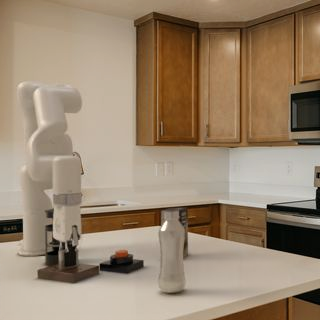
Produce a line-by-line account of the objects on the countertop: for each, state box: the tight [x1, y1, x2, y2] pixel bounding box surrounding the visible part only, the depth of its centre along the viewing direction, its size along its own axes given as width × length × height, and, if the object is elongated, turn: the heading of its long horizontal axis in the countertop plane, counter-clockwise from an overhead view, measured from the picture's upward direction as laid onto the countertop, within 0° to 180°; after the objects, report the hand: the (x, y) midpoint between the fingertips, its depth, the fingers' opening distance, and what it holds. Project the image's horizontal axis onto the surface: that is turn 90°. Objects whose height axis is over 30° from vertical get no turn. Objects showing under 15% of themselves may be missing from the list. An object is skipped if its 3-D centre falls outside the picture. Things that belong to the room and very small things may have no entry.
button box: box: [98, 253, 145, 275], centre depth 135 cm, size 10×8×4 cm
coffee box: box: [160, 207, 189, 259], centre depth 150 cm, size 9×6×16 cm
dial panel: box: [36, 262, 100, 284], centre depth 127 cm, size 13×10×3 cm
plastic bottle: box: [157, 210, 186, 294], centre depth 112 cm, size 6×7×20 cm
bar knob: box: [59, 248, 79, 270], centre depth 127 cm, size 5×2×5 cm, turn 131°
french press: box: [44, 208, 60, 267], centre depth 144 cm, size 12×9×23 cm
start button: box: [114, 249, 129, 257], centre depth 135 cm, size 4×4×2 cm
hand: (68, 264), depth 127 cm, fingers closed on bar knob, 2 cm apart
